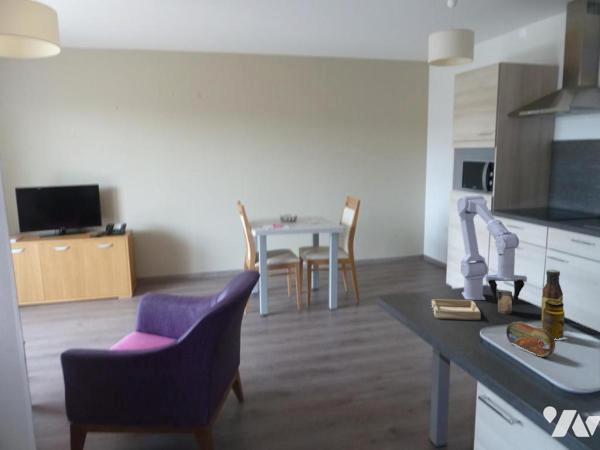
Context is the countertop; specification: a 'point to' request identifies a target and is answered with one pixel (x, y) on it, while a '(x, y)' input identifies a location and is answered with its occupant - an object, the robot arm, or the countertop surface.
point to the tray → (455, 309)
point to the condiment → (554, 318)
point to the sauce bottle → (552, 288)
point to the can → (504, 301)
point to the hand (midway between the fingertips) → (505, 299)
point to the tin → (531, 338)
